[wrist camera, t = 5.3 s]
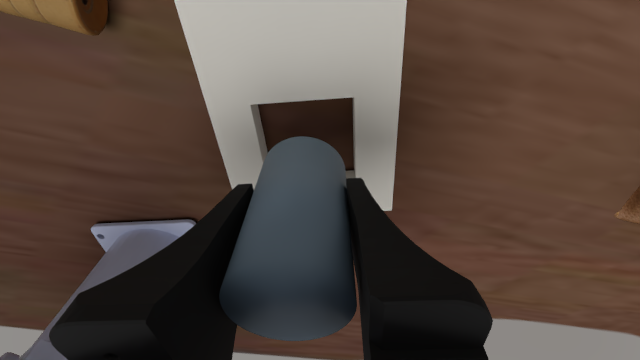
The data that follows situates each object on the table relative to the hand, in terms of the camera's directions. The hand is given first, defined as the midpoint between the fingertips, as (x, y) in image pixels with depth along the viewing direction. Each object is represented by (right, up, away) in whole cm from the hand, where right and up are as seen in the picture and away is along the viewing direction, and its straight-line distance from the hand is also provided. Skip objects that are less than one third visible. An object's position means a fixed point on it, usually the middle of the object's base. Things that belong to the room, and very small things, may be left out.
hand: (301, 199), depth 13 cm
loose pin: (0, +1, +1) cm, 2 cm away
